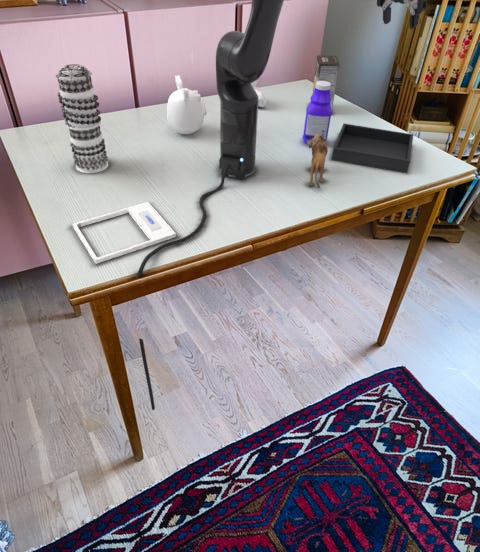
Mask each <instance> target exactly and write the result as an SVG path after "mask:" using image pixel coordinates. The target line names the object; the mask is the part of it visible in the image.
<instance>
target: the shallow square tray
mask: <svg viewBox="0 0 480 552" xmlns="http://www.w3.org/2000/svg"><path fill="white" fill-rule="evenodd" d="M413 140H414V134H413V133H406V132H400V131H395V130H388V129H382V128H376V127H369V126H362V125H356V124H351V123H344V122H343V123H342V125H341V129H340V130H339V133H338V136H337V138H336V141H335V143H334V145H333V149H332V155H331V161H336V162H342V163H348V164H352V165H360V166H365V167H370V168H375V169H382V170H387V171H393V172H397V173H398V172H399V173H404V174H407V173H408V170H409V166H410V163H411V160H412V159H411V158H412V151H413V142H414V141H413Z"/></svg>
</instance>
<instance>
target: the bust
mask: <svg viewBox="0 0 480 552" xmlns="http://www.w3.org/2000/svg"><path fill="white" fill-rule="evenodd" d="M258 82H259V79H258V80H256V81H255V82H253V83H251V85H252V87H253V88H254V90H255V91H256V93H257V95H258V108H264V107H265V106H266V104H267V103H266V101H267V100H266V96H265V94H264V92H262V91H261V90H260V88H259V87H258V86H257V84H258Z"/></svg>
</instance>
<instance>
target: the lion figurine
mask: <svg viewBox="0 0 480 552" xmlns="http://www.w3.org/2000/svg"><path fill="white" fill-rule="evenodd" d="M306 145H307V147H308V148H309V149H311V157H312V158H311V166H310V168H309V171H310V173H309V174H310V175H309V182H308V186H311V187H312V186H313V185H314V181H315V184H316V185H315V186H316V188H317V189H320V188H321V186H320V184H319V182H320V183H325V178H323V177H324V173H325V166H326V165H325V164H326V158H327V155H328V147H327V141H326V142H325V139H324V138H323V137H322V136H321V135H319V134H316V135H314V138H312V139H311V140H309V141H307V144H306ZM318 172H319V182H318Z"/></svg>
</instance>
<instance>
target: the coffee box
mask: <svg viewBox="0 0 480 552" xmlns="http://www.w3.org/2000/svg"><path fill="white" fill-rule="evenodd" d="M340 66H341V65H340V62H339V59H338V57H337V55H324V54H323V55H322V54H321V55H319V54H318V55H316V62H315V70H314V78H313V84H312V85H313V86H312V93H311V96H312V95H313V93H314V90H315V85H316V82H317V81H327V82H329V83H330V84H331V86H330V97H331V102H330V105H331V110H332V111H333V108H334V101H335V94H336V90H337V89H336V88H337V84H338V83H337V82H338V76H339V70H340ZM332 113H333V112H332ZM332 113H331V115H332Z"/></svg>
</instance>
